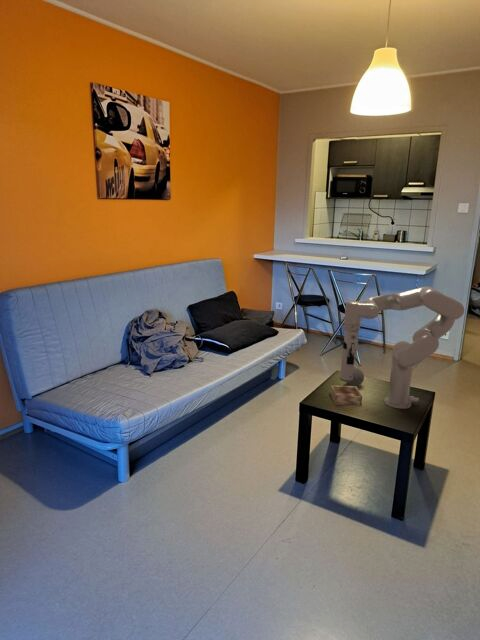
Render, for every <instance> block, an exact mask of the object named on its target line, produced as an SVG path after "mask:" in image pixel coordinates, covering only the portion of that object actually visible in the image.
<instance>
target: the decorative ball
mask: <svg viewBox="0 0 480 640" xmlns="http://www.w3.org/2000/svg"><path fill="white" fill-rule="evenodd" d="M364 379H365V377H364V373H363V371H362V370H361V369H359V368H357V367H354V374H353V381H352V382H346V384H348V386H356V387H358V386H360V385H361V384H362V383H364Z"/></svg>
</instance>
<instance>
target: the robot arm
mask: <svg viewBox="0 0 480 640" xmlns="http://www.w3.org/2000/svg"><path fill="white" fill-rule="evenodd" d="M423 306H424V307H425V308H427V309H429V310H430V311H433V312H434V313H436V315H435V317H434V318H433V319H432V320H430V321H429V322H428V323H426V324H425V325H424V326H422V327H420V328H419V329H418V330H416V331H415V332H414V333H413V334H412V338H411V339H412V343H411V342H409V341H406V340H400V341H398V342H396V343H395V344H394V345H393V347H392V351H391V369H390V376H389V378H390V379H389V385H388V395H387V396H386V397H384V399H383V400H384V403H385V405H387V406H388V407H391V408H393V409H398V410H400V409H402V410H405V409H409V408H410V407H412V402H415V403H417V402H420V399H419V397H415V395H410V389H411V384H412V383H411V381H412V374H413V367H416V366H417V365H419V364H421V363H422V362H423V361H425V360H426V359H428V358H429V357H431V356H432V355H433V354H435V352H437V350H438V349H439V345H440V341H439V340H440V338H441V337H443V336H444V335H446V334H447V333H448V332H450V331H451V329H452V328H453V327H454V323H455V321H456V320H459V319H460V318H462V317H463V316H464V313H465V307H464V305H463V304H462V303H461V302H460V301H458V300H457V299H456V298H454V297H451V296H448V295H445V294H443V293H442V292H440V291H439V290H437V289H435V288H434V287H432V286H429V285H427V286H426V285H425V286H421V287H416V288H413V289H412V288H411V289H409V290H406V291H401V292H395V293H387V294H383V295H382V294H381V295H377V296H374V297H370V298H366V299H364V300H362V302H361V301H358V300H347V301H346V303H345V309H344V321H343V330H344V339H343V343H344V342H345V343H346V344H347V350H348V356H347V364H349V365H353V364H354V353H355V351H356V352H358V348H359V332H360V331H361V319H362V318H363V319H364V318H365V319H369V320H372V319H375V318H377V317H378V316H379V314H380V312H381V311H388V310H394V311H400V312H401V311H402V312H403V311H407V310H410V309H416V308H420V307H423ZM354 348H355V349H354ZM349 349H351V350H349ZM350 352H351V353H350ZM355 354H356V353H355ZM354 365H355V364H354Z"/></svg>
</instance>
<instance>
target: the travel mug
mask: <svg viewBox="0 0 480 640" xmlns="http://www.w3.org/2000/svg"><path fill="white" fill-rule="evenodd" d="M354 349H355V348H354ZM349 350H351V349H349ZM341 351H342V352H341V362H340V364H341V365H340V377H339V380H340V381H342V382H345V383H347V382H352V381H353V374H354V368H355V362H356V352H357V351H355V353H354V364H353V365H349V364H347V356H348V350H347V344H346V343H345V342H344V341H343V342H342V349H341ZM350 353H351V352H350Z"/></svg>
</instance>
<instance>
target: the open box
mask: <svg viewBox="0 0 480 640" xmlns="http://www.w3.org/2000/svg"><path fill="white" fill-rule="evenodd" d="M329 394H330V396H331V400H332V402H333V403H334V405H335V406H337V405H338V406H362V405H363V395H362V393H361V392H360V390H359V388H358V386H350V385H330V393H329Z"/></svg>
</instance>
